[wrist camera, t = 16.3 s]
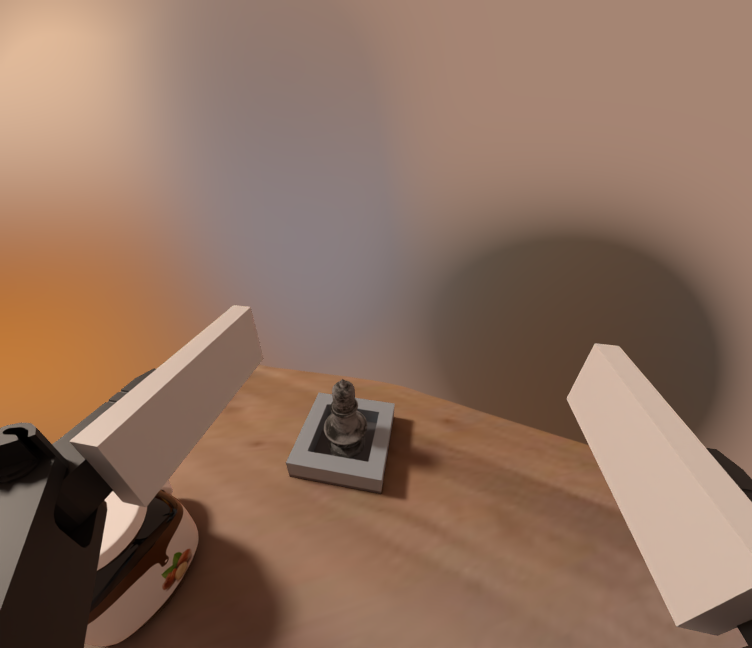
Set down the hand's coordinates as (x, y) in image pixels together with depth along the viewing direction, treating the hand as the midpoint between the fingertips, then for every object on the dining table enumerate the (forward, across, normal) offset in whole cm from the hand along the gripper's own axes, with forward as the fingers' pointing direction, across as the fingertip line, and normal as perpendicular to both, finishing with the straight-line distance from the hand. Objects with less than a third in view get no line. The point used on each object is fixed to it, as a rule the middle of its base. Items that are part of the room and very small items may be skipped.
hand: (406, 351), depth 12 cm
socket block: (+16, -8, -30) cm, 35 cm away
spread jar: (-1, -25, -30) cm, 39 cm away
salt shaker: (+16, -8, -30) cm, 35 cm away
